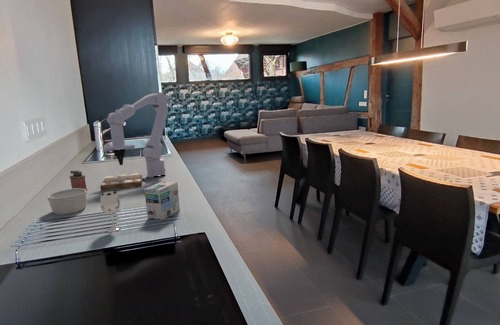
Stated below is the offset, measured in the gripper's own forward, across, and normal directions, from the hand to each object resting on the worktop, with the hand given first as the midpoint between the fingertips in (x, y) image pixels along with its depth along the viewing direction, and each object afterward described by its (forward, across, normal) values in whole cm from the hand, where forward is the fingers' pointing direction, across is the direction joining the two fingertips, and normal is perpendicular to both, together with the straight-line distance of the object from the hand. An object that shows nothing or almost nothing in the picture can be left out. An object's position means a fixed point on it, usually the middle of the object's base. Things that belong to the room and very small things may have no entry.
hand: (121, 164), depth 167 cm
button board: (+9, 0, -4) cm, 10 cm away
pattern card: (+7, 0, -9) cm, 11 cm away
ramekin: (+10, -17, -36) cm, 41 cm away
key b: (+8, 0, -3) cm, 8 cm away
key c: (+8, -6, -3) cm, 10 cm away
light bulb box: (+10, +18, -57) cm, 61 cm away
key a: (+8, +6, -3) cm, 10 cm away
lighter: (+10, -19, -7) cm, 22 cm away
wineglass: (+10, +2, -65) cm, 66 cm away
